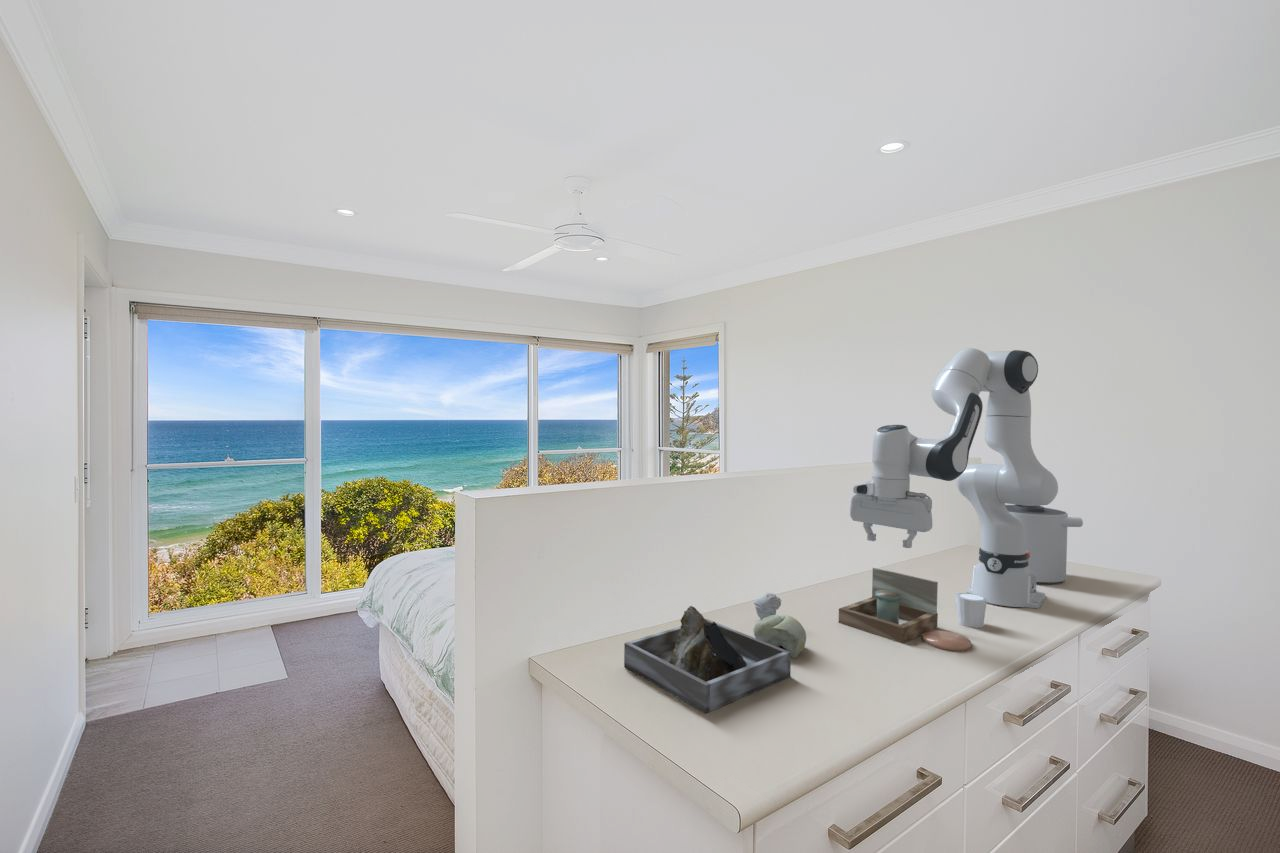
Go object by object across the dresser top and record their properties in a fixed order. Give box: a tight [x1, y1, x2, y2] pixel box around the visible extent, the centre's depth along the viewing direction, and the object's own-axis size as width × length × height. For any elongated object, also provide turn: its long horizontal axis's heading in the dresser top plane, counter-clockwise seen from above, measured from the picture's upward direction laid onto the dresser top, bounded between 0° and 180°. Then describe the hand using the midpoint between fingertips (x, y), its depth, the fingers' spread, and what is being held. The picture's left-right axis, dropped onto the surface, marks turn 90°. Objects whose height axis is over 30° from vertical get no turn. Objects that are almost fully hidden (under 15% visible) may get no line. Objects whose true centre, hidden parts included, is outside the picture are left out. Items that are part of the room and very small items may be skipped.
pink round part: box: [922, 629, 972, 652], centre depth 138 cm, size 10×10×1 cm
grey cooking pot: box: [1005, 504, 1084, 585], centre depth 196 cm, size 22×21×23 cm
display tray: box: [623, 618, 792, 714], centre depth 121 cm, size 24×24×5 cm
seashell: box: [753, 614, 807, 659], centre depth 134 cm, size 13×8×10 cm
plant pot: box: [875, 590, 901, 624], centre depth 149 cm, size 6×6×8 cm
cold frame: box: [838, 567, 939, 644], centre depth 149 cm, size 17×17×12 cm
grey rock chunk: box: [753, 592, 782, 620], centre depth 152 cm, size 6×7×7 cm
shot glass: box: [955, 592, 988, 629], centre depth 151 cm, size 7×7×7 cm
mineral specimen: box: [668, 605, 747, 682], centre depth 121 cm, size 14×15×17 cm
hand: (889, 544), depth 149 cm, fingers open, 8 cm apart
